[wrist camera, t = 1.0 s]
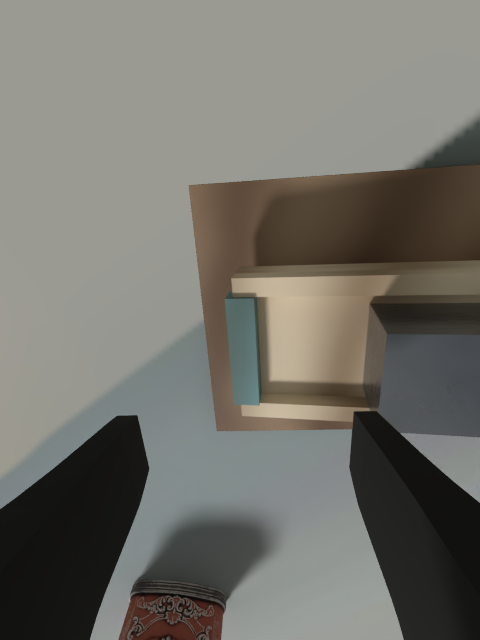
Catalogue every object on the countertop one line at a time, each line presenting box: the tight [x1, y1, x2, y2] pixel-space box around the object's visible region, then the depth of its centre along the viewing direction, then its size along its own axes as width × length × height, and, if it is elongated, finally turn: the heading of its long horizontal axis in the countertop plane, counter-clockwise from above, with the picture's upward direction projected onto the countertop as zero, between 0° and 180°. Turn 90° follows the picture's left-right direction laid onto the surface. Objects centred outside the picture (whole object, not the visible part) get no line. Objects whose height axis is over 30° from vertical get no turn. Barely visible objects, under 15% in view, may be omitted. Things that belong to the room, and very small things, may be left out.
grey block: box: [363, 303, 480, 437], centre depth 13 cm, size 5×4×3 cm
